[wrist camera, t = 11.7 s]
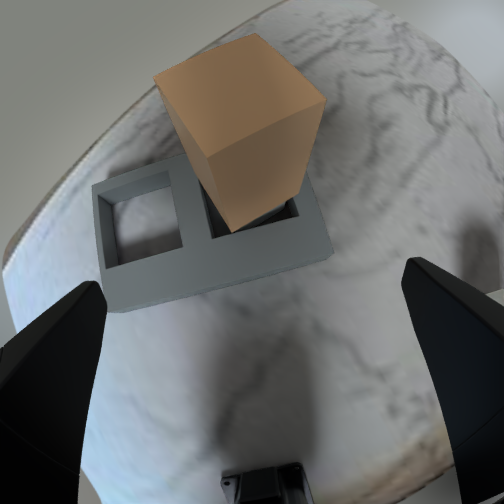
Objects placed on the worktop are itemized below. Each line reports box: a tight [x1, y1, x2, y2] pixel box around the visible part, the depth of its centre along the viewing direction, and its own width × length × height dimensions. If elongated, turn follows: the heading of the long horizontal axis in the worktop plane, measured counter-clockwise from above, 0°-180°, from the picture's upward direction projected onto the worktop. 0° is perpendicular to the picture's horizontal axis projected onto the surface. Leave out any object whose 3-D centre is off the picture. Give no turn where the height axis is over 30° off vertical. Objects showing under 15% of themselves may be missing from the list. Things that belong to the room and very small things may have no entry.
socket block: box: [92, 153, 334, 313], centre depth 21 cm, size 10×16×2 cm, turn 105°
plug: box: [153, 33, 327, 233], centre depth 16 cm, size 5×5×13 cm
